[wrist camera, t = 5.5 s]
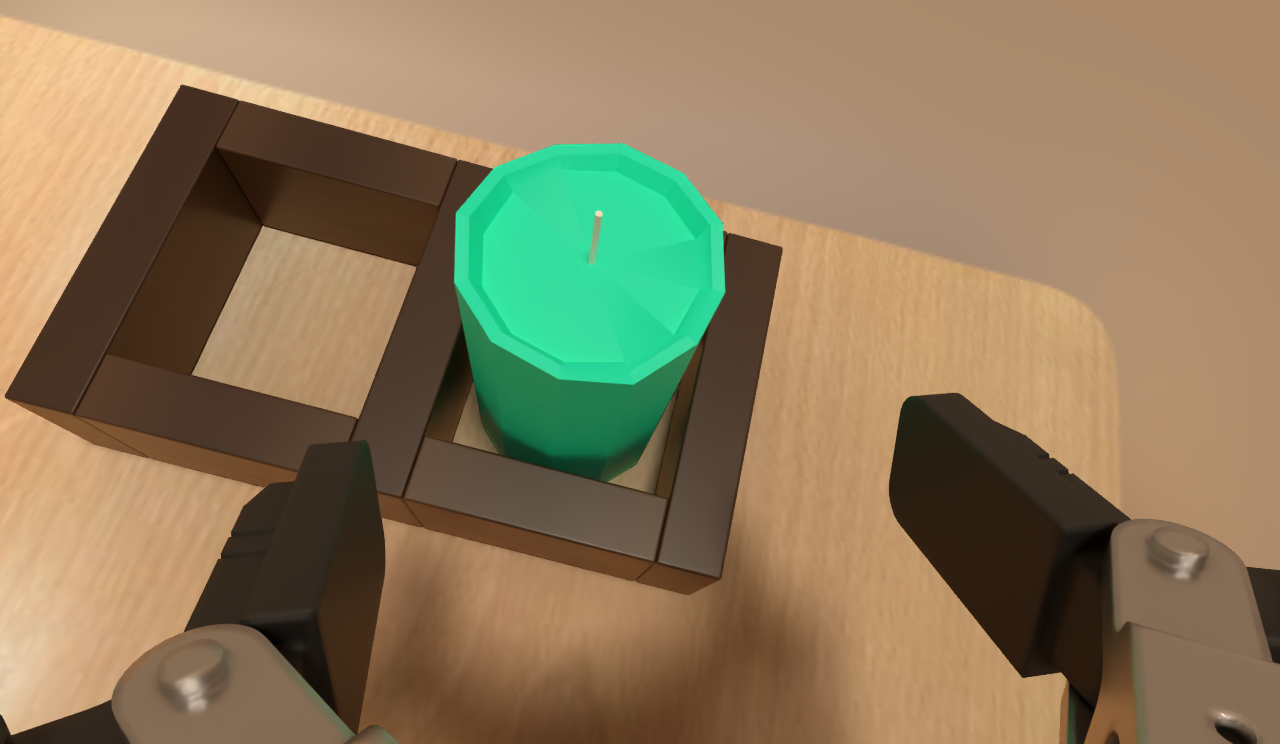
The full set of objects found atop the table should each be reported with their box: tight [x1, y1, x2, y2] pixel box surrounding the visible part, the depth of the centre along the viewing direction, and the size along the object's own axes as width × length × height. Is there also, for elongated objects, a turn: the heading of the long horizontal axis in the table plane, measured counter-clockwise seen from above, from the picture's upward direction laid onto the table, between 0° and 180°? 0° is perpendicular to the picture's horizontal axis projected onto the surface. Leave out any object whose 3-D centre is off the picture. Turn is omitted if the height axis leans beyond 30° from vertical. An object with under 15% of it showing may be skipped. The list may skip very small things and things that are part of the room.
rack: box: [5, 85, 783, 595], centre depth 25 cm, size 19×10×4 cm, turn 77°
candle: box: [454, 143, 725, 482], centre depth 21 cm, size 6×6×12 cm
